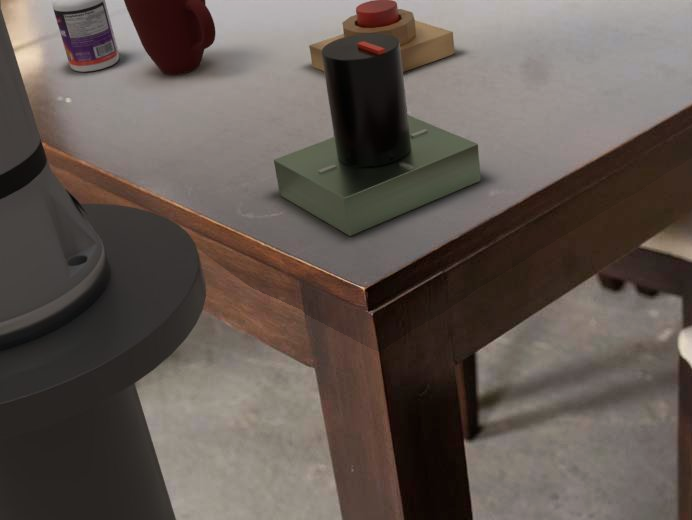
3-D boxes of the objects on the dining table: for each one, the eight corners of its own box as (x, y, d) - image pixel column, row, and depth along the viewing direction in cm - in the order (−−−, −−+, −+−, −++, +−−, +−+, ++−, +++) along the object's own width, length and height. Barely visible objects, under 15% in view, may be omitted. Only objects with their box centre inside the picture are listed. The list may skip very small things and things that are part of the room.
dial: (323, 153, 84) (306, 45, 79) (383, 130, 86) (369, 23, 82) (364, 173, 80) (348, 61, 75) (426, 149, 82) (414, 38, 78)
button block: (362, 87, 103) (356, 45, 101) (312, 67, 110) (305, 26, 108) (454, 54, 108) (451, 12, 106) (401, 36, 114) (397, -3, 112)
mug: (253, 61, 114) (234, -40, 108) (199, 89, 109) (176, -15, 103) (180, 51, 119) (159, -45, 114) (126, 77, 114) (100, -22, 108)
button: (373, 33, 105) (370, 15, 104) (350, 25, 108) (347, 7, 106) (407, 22, 106) (405, 3, 105) (383, 14, 109) (381, -4, 108)
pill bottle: (74, 59, 121) (48, -32, 116) (122, 52, 121) (99, -39, 116) (67, 75, 117) (39, -18, 111) (117, 68, 117) (92, -26, 112)
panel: (349, 236, 79) (343, 196, 77) (279, 195, 86) (272, 157, 84) (480, 180, 84) (478, 141, 82) (404, 146, 91) (400, 109, 89)
